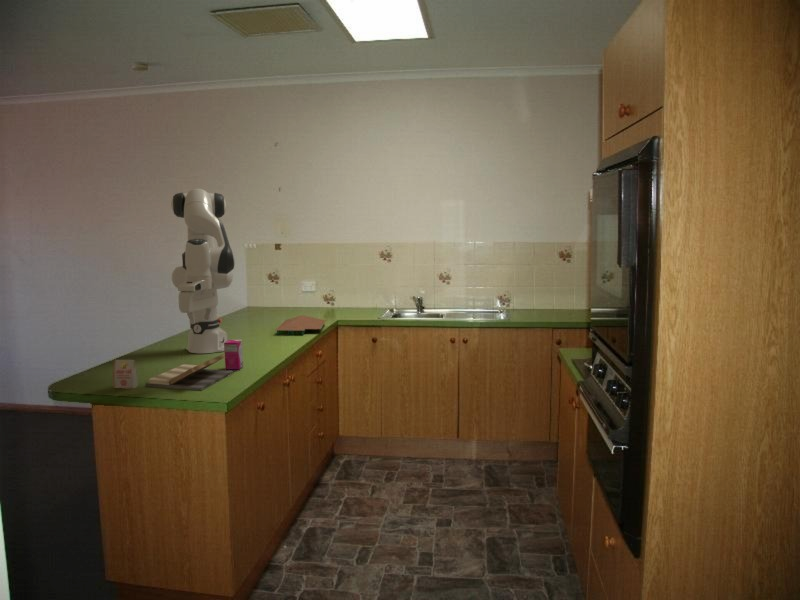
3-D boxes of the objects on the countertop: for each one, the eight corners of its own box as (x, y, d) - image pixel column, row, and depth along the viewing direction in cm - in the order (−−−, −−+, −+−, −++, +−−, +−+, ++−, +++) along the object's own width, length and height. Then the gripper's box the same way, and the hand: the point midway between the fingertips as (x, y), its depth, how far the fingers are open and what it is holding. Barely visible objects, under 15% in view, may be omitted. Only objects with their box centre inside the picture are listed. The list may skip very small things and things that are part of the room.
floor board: (182, 369, 223) (182, 363, 223) (233, 373, 219) (233, 366, 219) (145, 386, 201) (145, 379, 201) (201, 390, 197) (201, 383, 196)
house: (326, 325, 324) (326, 311, 323) (319, 336, 292) (319, 321, 291) (286, 324, 324) (286, 310, 323) (275, 336, 291) (275, 320, 290)
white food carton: (118, 385, 202) (117, 358, 200) (137, 385, 202) (136, 358, 200) (113, 388, 198) (112, 361, 197) (133, 388, 198) (131, 361, 197)
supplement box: (229, 366, 229) (228, 339, 227) (243, 367, 229) (243, 339, 227) (224, 370, 223) (223, 342, 222) (239, 370, 223) (238, 342, 222)
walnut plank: (204, 368, 221) (202, 365, 221) (224, 357, 218) (222, 354, 218) (171, 384, 199) (169, 380, 199) (193, 372, 197) (191, 368, 197)
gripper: (206, 281, 215) (207, 317, 217) (174, 286, 195) (176, 325, 197) (221, 281, 214) (222, 317, 216) (190, 287, 194) (192, 326, 196)
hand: (200, 321), depth 206 cm, fingers open, 8 cm apart
